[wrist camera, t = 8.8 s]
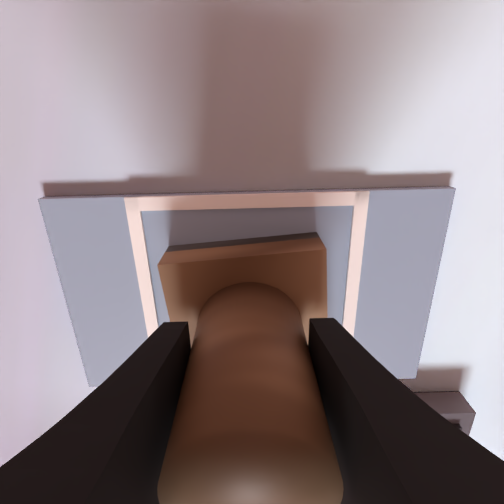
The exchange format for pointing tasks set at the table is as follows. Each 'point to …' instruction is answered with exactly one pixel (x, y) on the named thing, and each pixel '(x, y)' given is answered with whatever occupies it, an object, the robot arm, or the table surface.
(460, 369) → the table surface
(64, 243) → the print card
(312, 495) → the stamp
